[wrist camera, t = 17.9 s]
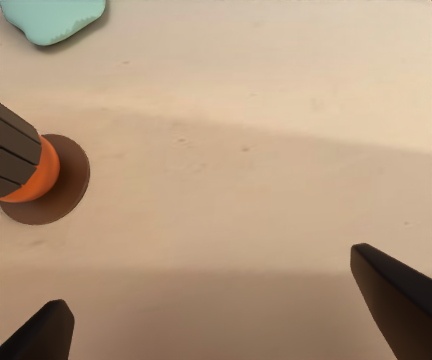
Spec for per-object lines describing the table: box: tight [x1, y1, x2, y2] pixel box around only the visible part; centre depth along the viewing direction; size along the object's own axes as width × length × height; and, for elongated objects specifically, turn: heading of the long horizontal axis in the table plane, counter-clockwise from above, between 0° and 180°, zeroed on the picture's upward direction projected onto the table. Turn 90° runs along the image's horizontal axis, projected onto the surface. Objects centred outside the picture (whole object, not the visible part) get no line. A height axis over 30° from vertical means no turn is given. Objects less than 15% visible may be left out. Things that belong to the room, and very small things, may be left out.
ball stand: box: [0, 134, 90, 225], centre depth 23 cm, size 8×8×6 cm
